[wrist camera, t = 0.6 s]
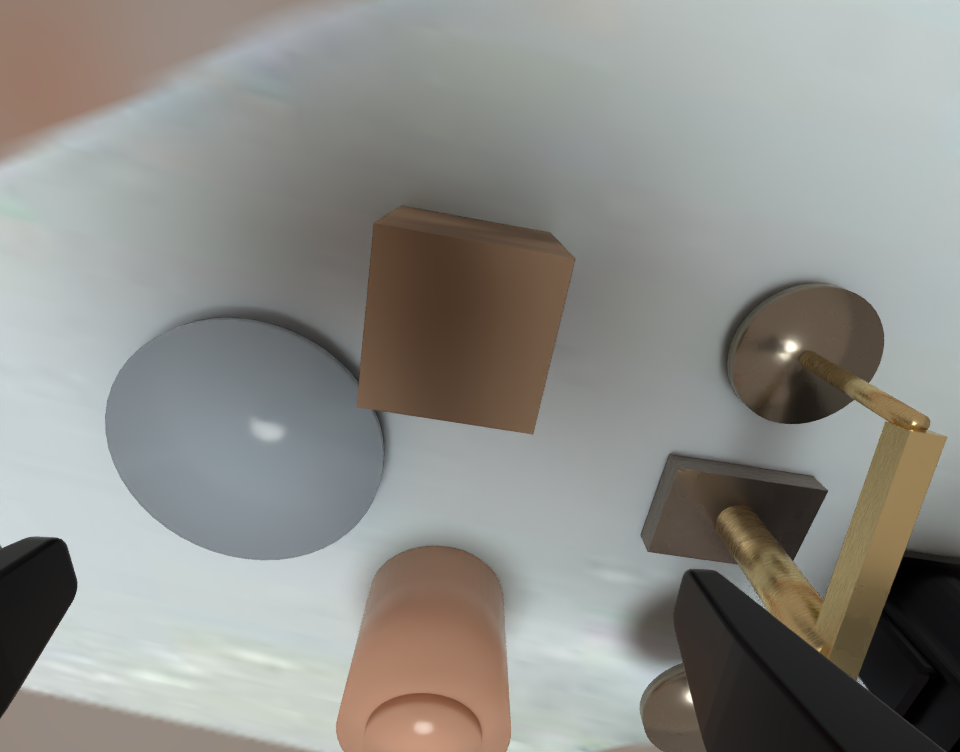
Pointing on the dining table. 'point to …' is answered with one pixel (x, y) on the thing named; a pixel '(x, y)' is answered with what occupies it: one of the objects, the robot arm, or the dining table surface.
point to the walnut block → (461, 319)
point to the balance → (795, 489)
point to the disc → (244, 439)
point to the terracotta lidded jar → (429, 659)
